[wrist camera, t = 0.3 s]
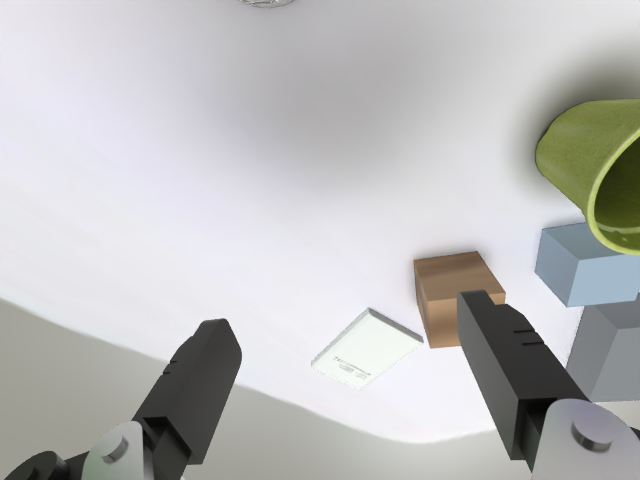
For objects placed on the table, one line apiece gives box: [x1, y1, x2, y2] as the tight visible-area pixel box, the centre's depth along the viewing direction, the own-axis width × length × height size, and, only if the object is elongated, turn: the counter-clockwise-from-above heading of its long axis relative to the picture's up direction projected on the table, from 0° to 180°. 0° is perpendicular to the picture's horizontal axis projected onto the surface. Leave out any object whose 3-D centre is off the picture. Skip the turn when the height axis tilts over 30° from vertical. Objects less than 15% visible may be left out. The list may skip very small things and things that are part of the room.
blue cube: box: [535, 223, 640, 307], centre depth 25 cm, size 5×5×5 cm
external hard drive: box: [311, 308, 424, 390], centre depth 37 cm, size 2×8×12 cm
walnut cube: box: [414, 251, 506, 348], centre depth 28 cm, size 6×6×6 cm
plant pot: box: [536, 98, 640, 255], centre depth 19 cm, size 9×9×9 cm
